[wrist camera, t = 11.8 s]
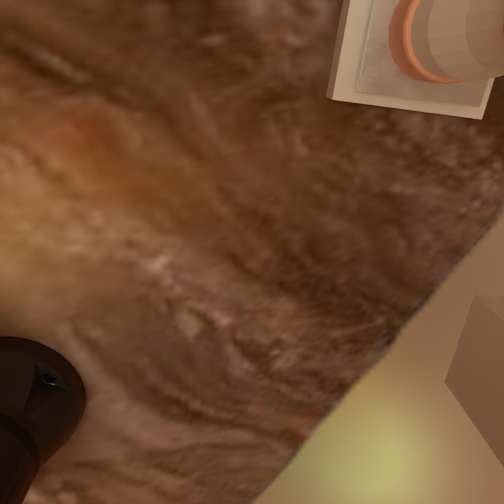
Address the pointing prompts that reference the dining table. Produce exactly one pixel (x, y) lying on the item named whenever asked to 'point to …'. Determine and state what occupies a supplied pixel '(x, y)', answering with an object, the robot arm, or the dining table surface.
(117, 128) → the dining table surface
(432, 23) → the salt shaker
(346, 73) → the scale base
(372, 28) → the scale pan
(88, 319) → the dining table surface
